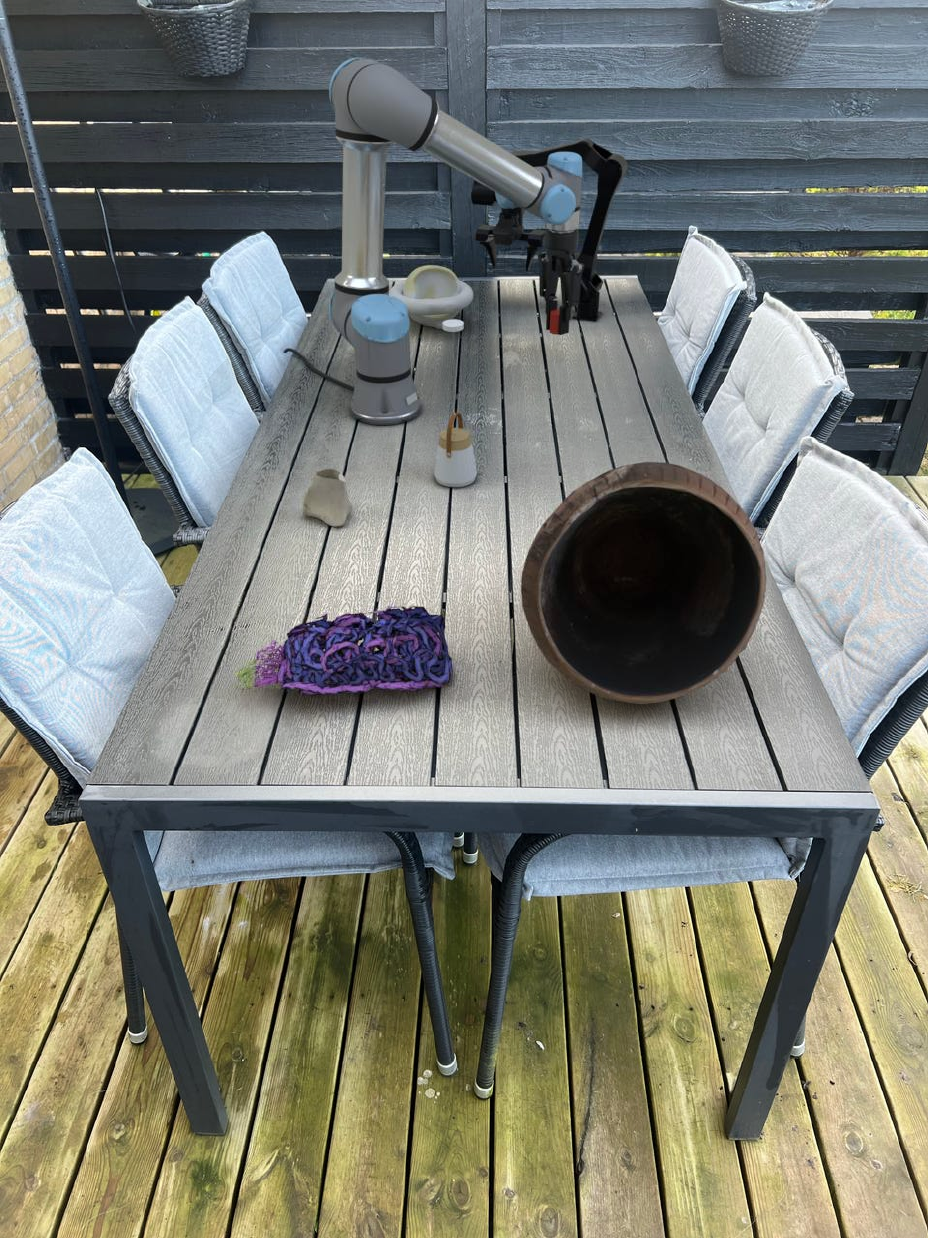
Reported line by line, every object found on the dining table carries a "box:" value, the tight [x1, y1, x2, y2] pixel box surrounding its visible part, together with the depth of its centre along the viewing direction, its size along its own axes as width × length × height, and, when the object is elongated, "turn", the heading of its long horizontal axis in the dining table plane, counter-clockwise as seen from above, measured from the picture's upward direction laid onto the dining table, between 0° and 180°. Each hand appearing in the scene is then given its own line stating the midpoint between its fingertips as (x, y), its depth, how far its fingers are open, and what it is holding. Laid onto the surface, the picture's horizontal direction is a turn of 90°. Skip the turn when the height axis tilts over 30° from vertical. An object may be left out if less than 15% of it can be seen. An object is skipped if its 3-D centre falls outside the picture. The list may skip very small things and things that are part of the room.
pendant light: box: [433, 318, 478, 488], centre depth 169 cm, size 8×8×30 cm
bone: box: [301, 468, 353, 528], centre depth 164 cm, size 9×8×10 cm
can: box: [549, 309, 559, 336], centre depth 222 cm, size 4×4×5 cm
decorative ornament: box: [235, 605, 454, 697], centre depth 129 cm, size 13×11×30 cm
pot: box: [520, 461, 767, 705], centre depth 132 cm, size 32×32×30 cm
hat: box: [389, 264, 474, 330], centre depth 239 cm, size 25×22×15 cm
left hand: (557, 330), depth 223 cm, fingers closed on can, 4 cm apart
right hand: (510, 269), depth 247 cm, fingers open, 9 cm apart
